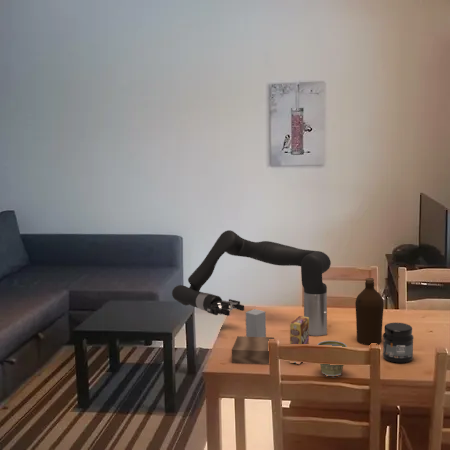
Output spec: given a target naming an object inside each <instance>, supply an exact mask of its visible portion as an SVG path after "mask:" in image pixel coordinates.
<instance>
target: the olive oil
mask: <svg viewBox="0 0 450 450" xmlns="http://www.w3.org/2000/svg"><path fill="white" fill-rule="evenodd" d="M364 285H365V286H364V289H363V290H362V291H361V292H360V293H359V294H358V295H357V296H356V298H355V302H354V303H355V319H356V321H355V324H356V341H357V343H359V344H361V345H365V346H370V345H369V344H371V343H378V344H377V345H379V344H381V343H382V342H383V341H382V339H383V320H384V318H383V317H384V307H385V305H384V304H385V303H384V299H383V297H382V295H381V294H380V293H379V292H378V290H376V289H375V279H374V278H373V277H366V278H365V282H364Z"/></svg>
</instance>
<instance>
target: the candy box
mask: <svg viewBox="0 0 450 450" xmlns="http://www.w3.org/2000/svg"><path fill="white" fill-rule="evenodd" d="M289 324H290V325H289V329H290V330H289V331H290V332H289V345H290V344H310V342H309V340H310V339H309V337H310V335H309V317H304V315H303V316H301V315H299V316H298V317H296V318H295V319H294V320H293V321H291V322H290V323H289ZM294 363H296V362H294Z"/></svg>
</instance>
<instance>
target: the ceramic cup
mask: <svg viewBox="0 0 450 450" xmlns="http://www.w3.org/2000/svg"><path fill="white" fill-rule="evenodd" d="M317 345H332V346H342V347H347V348H348V345H347V344H346V343H344V342H342V341H338V340H322V341H320V342H318V343H317V344H316V346H317ZM319 364H320V363H319ZM344 366H345V365H330V364H320V369H321V374H322V373H323V374H325V375H328V376H336V375H342V374H341V373H343V369H344ZM323 374H322V375H323ZM325 375H324V376H325Z"/></svg>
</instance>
